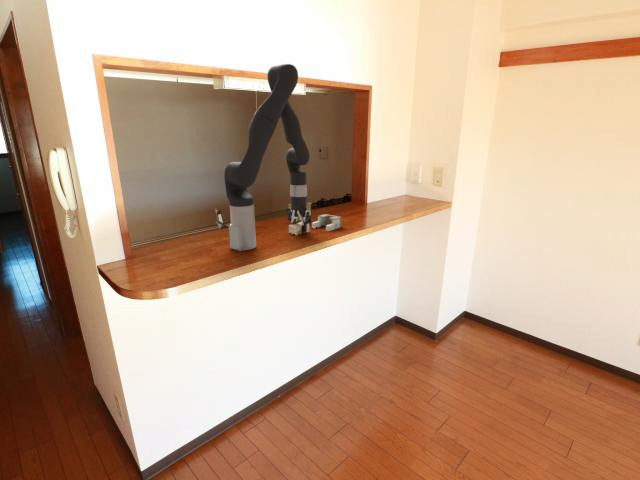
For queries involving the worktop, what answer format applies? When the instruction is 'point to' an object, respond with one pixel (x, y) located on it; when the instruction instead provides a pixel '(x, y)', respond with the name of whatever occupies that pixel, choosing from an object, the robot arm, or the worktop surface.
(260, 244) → the worktop surface
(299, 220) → the flower pot
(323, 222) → the channel
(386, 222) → the worktop surface
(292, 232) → the cream pronged block
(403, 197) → the worktop surface
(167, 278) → the worktop surface
